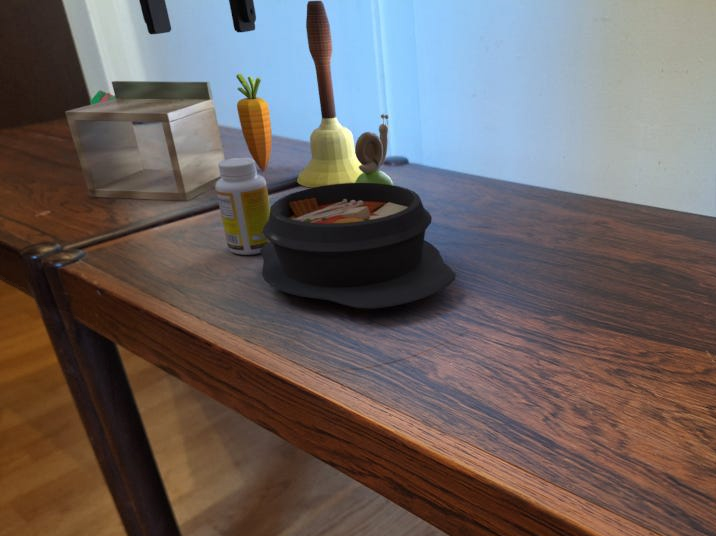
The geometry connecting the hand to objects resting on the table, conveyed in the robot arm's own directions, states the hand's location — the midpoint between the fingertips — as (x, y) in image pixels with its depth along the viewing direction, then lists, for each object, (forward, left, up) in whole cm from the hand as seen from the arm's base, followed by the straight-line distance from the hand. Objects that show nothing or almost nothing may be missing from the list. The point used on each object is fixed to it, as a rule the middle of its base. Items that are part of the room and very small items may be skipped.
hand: (202, 32), depth 72 cm
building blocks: (-67, +72, -24) cm, 101 cm away
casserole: (+17, -7, -24) cm, 30 cm away
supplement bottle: (+1, 0, -24) cm, 24 cm away
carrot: (-15, +35, -24) cm, 45 cm away
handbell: (-1, +32, -24) cm, 40 cm away
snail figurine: (+11, +17, -24) cm, 31 cm away
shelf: (-26, +23, -23) cm, 42 cm away
